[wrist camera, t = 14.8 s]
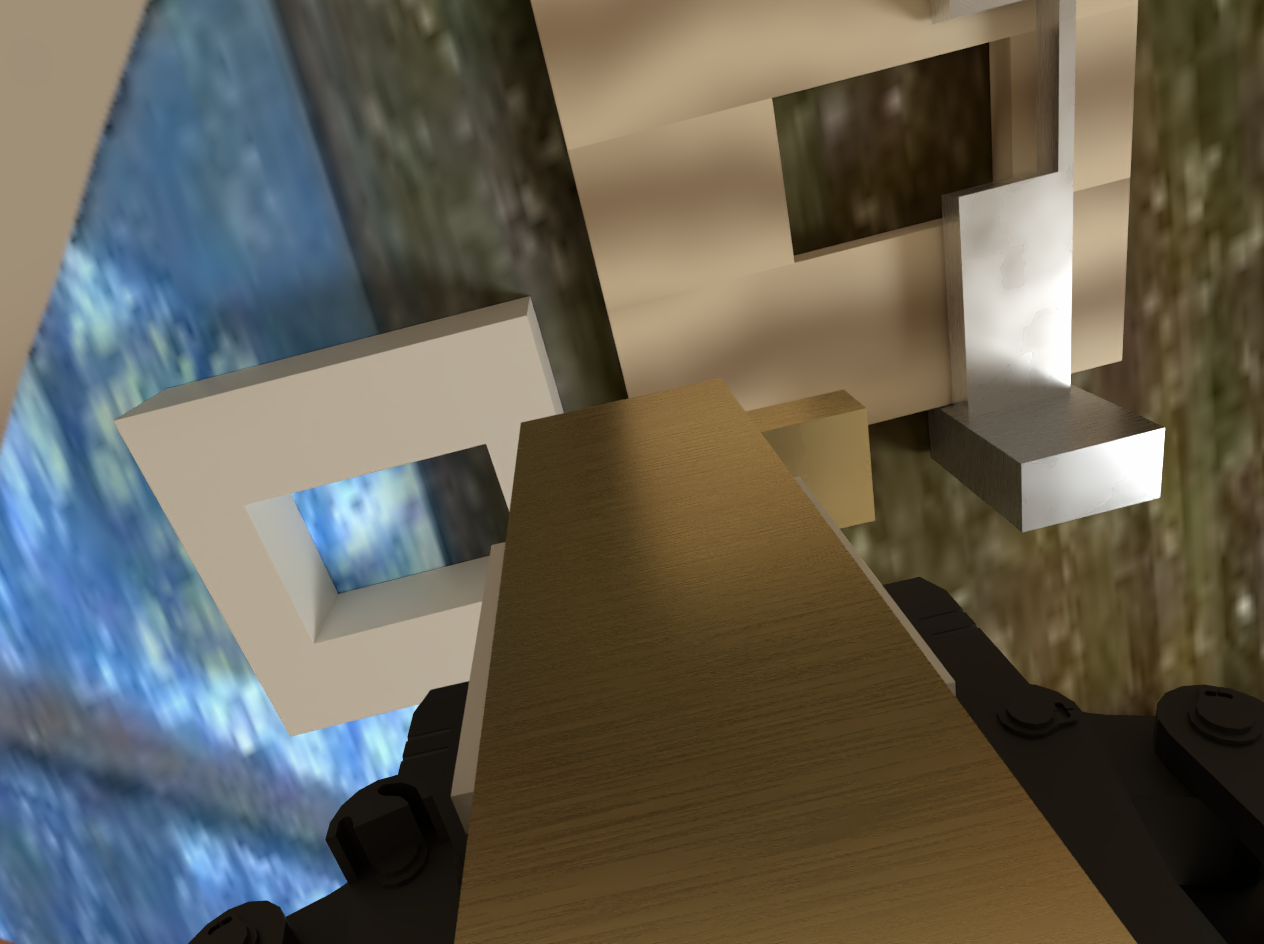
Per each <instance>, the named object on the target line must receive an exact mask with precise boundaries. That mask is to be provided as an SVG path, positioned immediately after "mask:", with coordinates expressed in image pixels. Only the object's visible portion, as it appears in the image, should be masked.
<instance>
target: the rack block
mask: <svg viewBox="0 0 1264 944" xmlns="http://www.w3.org/2000/svg"><path fill="white" fill-rule="evenodd" d="M562 413H564V412H563V408H562V405H561V401H560V398H559V395H558V391H557V388H556V384H555V381H554V377H553V374H552V370H551V367H550V363H549V360H548V356H547V353H546V349H545V346H544V343H543V339H542V336H541V332H540V329H539V325H538V322H537V318H536V315H535V311H534V308H533V304H532V301H531V297H530V296H528V297H524V298H520V299H516V300H512V301H509V302H505V303H501V304H497V305H493V306H489V307H485V308H481V309H477V310H473V311H469V312H465V313H462V314H458V315H454V316H450V317H446V318H442V319H438V320H434V321H430V322H426V323H422V324H418V325H415V326H411V327H407V328H403V329H399V330H395V331H391V332H387V333H383V334H379V335H375V336H372V337H368V338H364V339H360V340H356V341H352V342H348V343H344V344H340V345H336V346H332V347H328V348H325V349H321V350H317V351H313V352H309V353H305V354H301V355H297V356H293V357H289V358H285V359H281V360H278V361H274V362H270V363H266V364H262V365H258V366H254V367H250V368H246V369H242V370H238V371H235V372H231V373H227V374H223V375H219V376H215V377H211V378H207V379H203V380H199V381H195V382H191V383H188V384H184V385H180V386H176V387H172V388H168V389H164V390H163V391H161V392H159V393H158V394H156V395H155V396H153V397H151V398H150V399H148V400H146V401H145V402H143V403H142V404H140V405H138V406H137V407H135V408H133V409H132V410H130V411H129V412H127V413H125V414H124V415H122V416H120V417H119V418H117V419H116V420H114V421H113V422H114V423H115V425H116V427H117V429H118V431H119V432H120V434H121V436H122V438H123V439H124V441H125V443H126V445H127V447H128V448H129V450H130V452H131V454H132V455H133V457H134V459H135V461H136V463H137V464H138V466H139V468H140V470H141V471H142V473H143V475H144V477H145V479H146V480H147V482H148V484H149V486H150V488H151V489H152V491H153V493H154V495H155V496H156V498H157V500H158V502H159V504H160V505H161V507H162V509H163V511H164V512H165V514H166V516H167V518H168V520H169V521H170V523H171V525H172V527H173V528H174V530H175V532H176V534H177V536H178V537H179V539H180V541H181V543H182V545H183V546H184V548H185V550H186V552H187V553H188V555H189V557H190V559H191V561H192V562H193V564H194V566H195V568H196V569H197V571H198V573H199V575H200V577H201V578H202V580H203V582H204V584H205V585H206V587H207V589H208V591H209V593H210V594H211V596H212V598H213V600H214V602H215V603H216V605H217V607H218V609H219V610H220V612H221V614H222V616H223V618H224V619H225V621H226V623H227V625H228V626H229V628H230V630H231V632H232V634H233V635H234V637H235V639H236V641H237V642H238V644H239V646H240V648H241V650H242V651H243V653H244V655H245V657H246V659H247V660H248V662H249V664H250V666H251V667H252V669H253V671H254V673H255V675H256V676H257V678H258V680H259V682H260V683H261V685H262V687H263V689H264V691H265V692H266V694H267V696H268V698H269V699H270V701H271V703H272V705H273V707H274V708H275V710H276V712H277V714H278V716H279V717H280V719H281V721H282V723H283V724H284V726H285V728H286V730H287V732H288V733H289V735H290V737H291V736H295V735H299V734H303V733H306V732H310V731H314V730H318V729H322V728H326V727H330V726H334V725H338V724H342V723H346V722H350V721H354V720H358V719H362V718H366V717H370V716H374V715H378V714H382V713H386V712H390V711H394V710H398V709H402V708H406V707H410V706H414V705H418V704H420V703H421V702H422V701H423V699H424V698H425V697H426V695H427V694H428V692H429V691H430V690H432V689H436V688H440V687H445V686H449V685H454V684H458V683H462V682H467V681H469V680H470V674H471V668H472V662H473V655H474V649H475V643H476V637H477V631H478V625H479V618H480V612H481V606H482V600H483V594H484V588H485V582H486V575H487V569H488V563H489V557H490V556H486V557H482V558H478V559H474V560H470V561H466V562H462V563H458V564H454V565H450V566H446V567H442V568H438V569H434V570H431V571H427V572H423V573H419V574H415V575H411V576H407V577H403V578H399V579H395V580H391V581H387V582H383V583H379V584H375V585H371V586H367V587H363V588H359V589H356V590H352V591H348V592H344V593H340V594H338V592H337V590H336V588H335V586H334V584H333V582H332V580H331V578H330V575H329V573H328V571H327V569H326V567H325V565H324V563H323V561H322V559H321V557H320V554H319V552H318V550H317V548H316V546H315V544H314V542H313V540H312V538H311V536H310V533H309V531H308V529H307V527H306V525H305V523H304V521H303V519H302V517H301V514H300V512H299V510H298V508H297V506H296V504H295V502H294V500H293V498H292V496H291V493H294V492H298V491H302V490H306V489H310V488H314V487H318V486H322V485H325V484H329V483H333V482H337V481H341V480H345V479H349V478H353V477H357V476H361V475H365V474H369V473H373V472H377V471H381V470H384V469H388V468H392V467H396V466H400V465H404V464H408V463H412V462H416V461H420V460H424V459H428V458H432V457H436V456H440V455H443V454H447V453H451V452H455V451H459V450H463V449H467V448H471V447H475V446H479V445H483V444H486V445H487V448H488V451H489V454H490V457H491V460H492V463H493V465H494V468H495V471H496V474H497V477H498V480H499V483H500V486H501V489H502V492H503V495H504V498H505V501H506V504H507V506H508V509H509V511H510V503H511V496H512V488H513V480H514V472H515V464H516V457H517V449H518V441H519V433H520V425H521V423H522V422H526V421H530V420H535V419H539V418H544V417H548V416H553V415H557V414H562Z"/></svg>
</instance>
